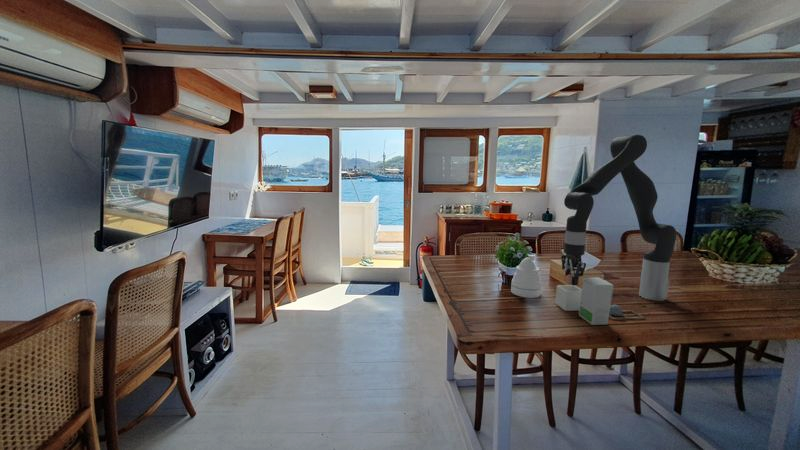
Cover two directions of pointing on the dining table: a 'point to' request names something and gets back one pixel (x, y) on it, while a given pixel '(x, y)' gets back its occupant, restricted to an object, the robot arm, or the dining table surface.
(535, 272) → the honey pot
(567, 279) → the ball terracotta
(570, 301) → the open square cup
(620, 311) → the ball slate
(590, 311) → the skincare box
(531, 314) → the dining table surface
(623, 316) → the rack
